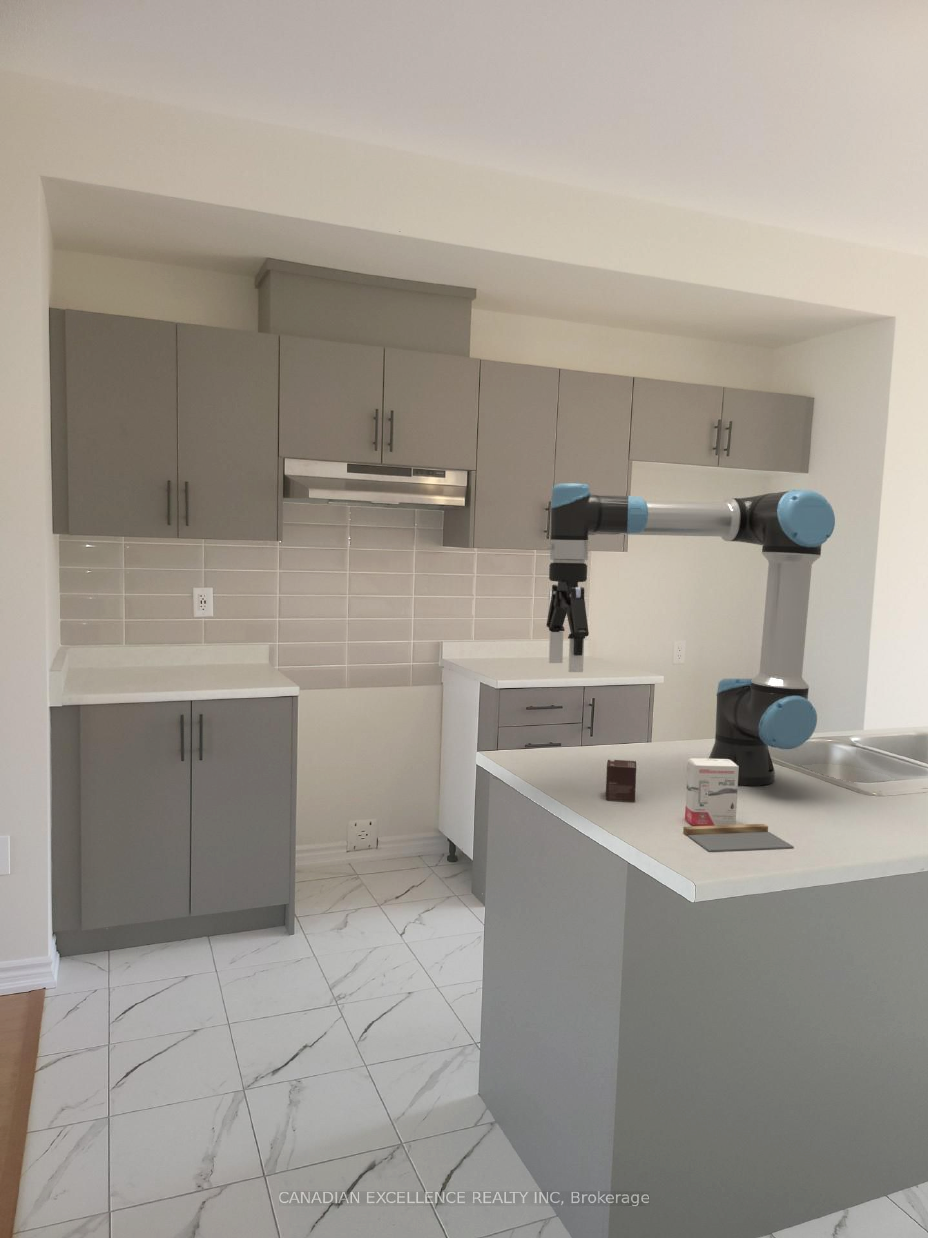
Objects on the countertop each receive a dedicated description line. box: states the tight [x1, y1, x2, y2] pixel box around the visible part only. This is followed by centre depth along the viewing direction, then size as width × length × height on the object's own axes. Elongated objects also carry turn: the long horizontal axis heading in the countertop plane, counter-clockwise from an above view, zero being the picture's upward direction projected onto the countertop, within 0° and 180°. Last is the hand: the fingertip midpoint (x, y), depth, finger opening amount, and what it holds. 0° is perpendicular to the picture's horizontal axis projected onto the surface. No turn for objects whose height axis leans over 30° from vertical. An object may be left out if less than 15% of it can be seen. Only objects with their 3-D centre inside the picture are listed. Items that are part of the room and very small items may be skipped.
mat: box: [687, 831, 795, 853], centre depth 154 cm, size 16×8×1 cm, turn 101°
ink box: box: [684, 757, 739, 826], centre depth 165 cm, size 9×5×12 cm, turn 92°
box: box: [605, 759, 637, 803], centre depth 180 cm, size 6×6×7 cm
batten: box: [682, 823, 769, 837], centre depth 159 cm, size 16×2×1 cm, turn 101°
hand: (565, 667), depth 175 cm, fingers open, 13 cm apart
